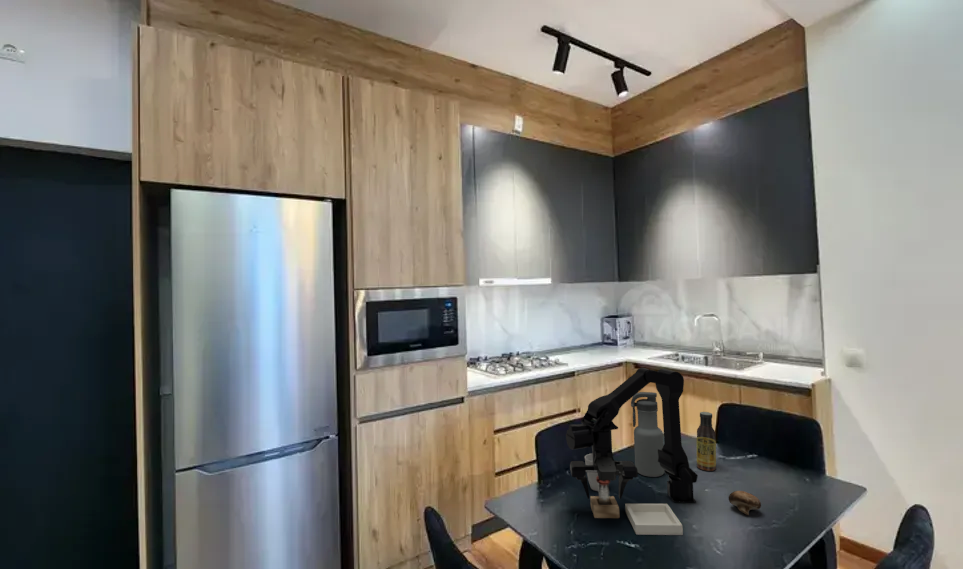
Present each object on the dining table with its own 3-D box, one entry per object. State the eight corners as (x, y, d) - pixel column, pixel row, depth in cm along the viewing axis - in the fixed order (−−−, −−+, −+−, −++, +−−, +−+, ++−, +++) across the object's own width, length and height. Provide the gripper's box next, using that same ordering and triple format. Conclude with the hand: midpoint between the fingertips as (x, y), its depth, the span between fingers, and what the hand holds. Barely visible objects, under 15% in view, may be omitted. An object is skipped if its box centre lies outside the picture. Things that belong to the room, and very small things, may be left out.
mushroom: (747, 510, 121) (746, 487, 125) (722, 510, 128) (721, 488, 131) (768, 520, 123) (766, 496, 126) (742, 519, 130) (741, 497, 133)
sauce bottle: (695, 470, 157) (693, 414, 158) (697, 463, 162) (695, 409, 163) (716, 473, 154) (714, 416, 154) (717, 467, 159) (715, 411, 159)
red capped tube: (610, 508, 132) (608, 475, 132) (613, 515, 128) (611, 480, 128) (596, 508, 132) (595, 475, 132) (599, 515, 128) (597, 480, 128)
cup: (612, 494, 141) (611, 462, 141) (586, 492, 143) (585, 461, 143) (610, 483, 149) (608, 453, 149) (585, 482, 150) (584, 452, 151)
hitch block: (614, 506, 133) (613, 496, 133) (619, 518, 126) (619, 507, 126) (590, 506, 134) (590, 496, 134) (594, 517, 127) (594, 507, 127)
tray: (667, 512, 128) (667, 503, 128) (682, 535, 116) (682, 525, 116) (625, 512, 129) (625, 503, 129) (636, 534, 117) (635, 525, 117)
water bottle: (633, 475, 154) (629, 395, 155) (635, 465, 163) (631, 389, 164) (664, 479, 150) (661, 397, 151) (664, 468, 159) (661, 390, 160)
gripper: (573, 455, 123) (575, 511, 123) (641, 454, 121) (644, 512, 121) (568, 441, 134) (570, 493, 134) (631, 441, 133) (633, 493, 132)
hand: (604, 498), depth 130 cm, fingers open, 9 cm apart
